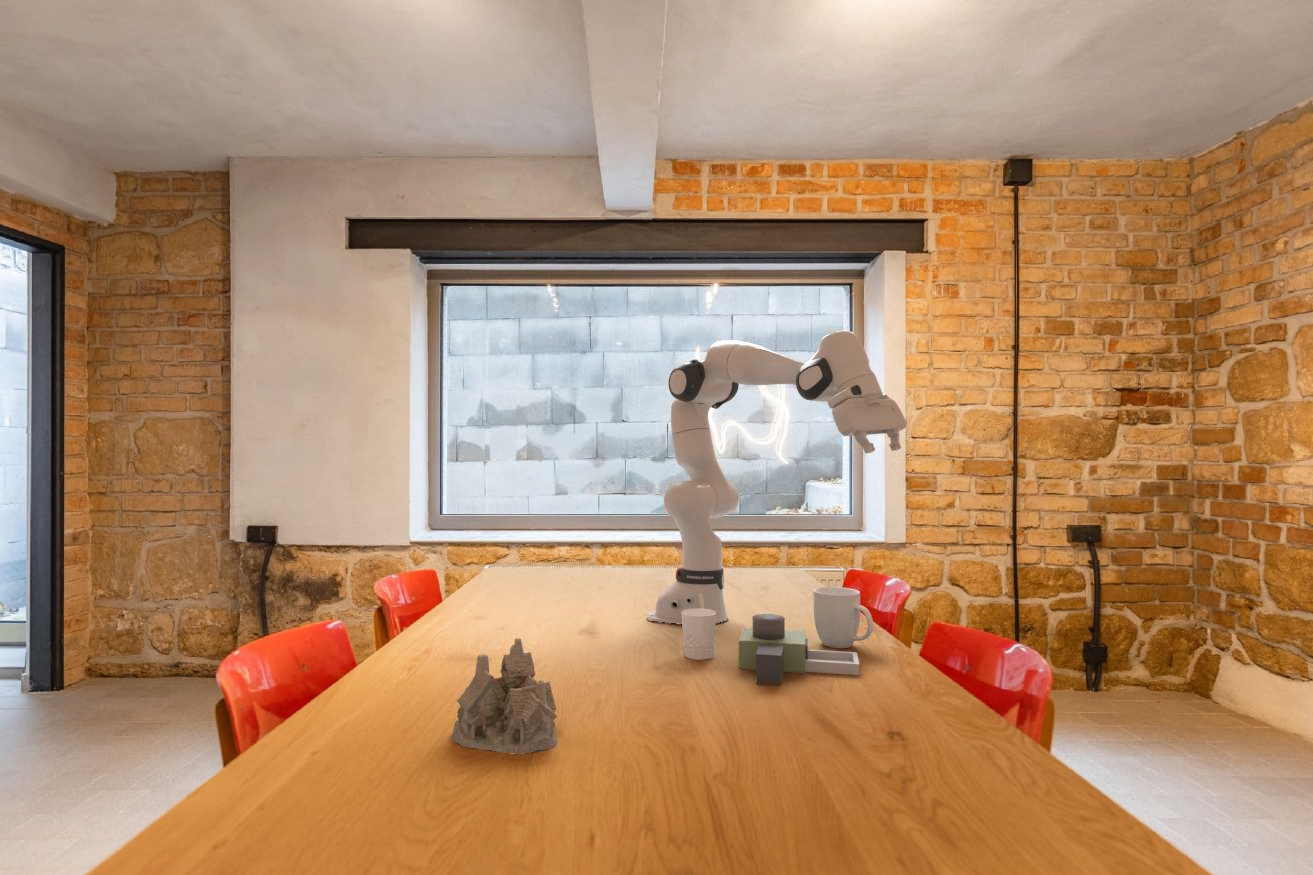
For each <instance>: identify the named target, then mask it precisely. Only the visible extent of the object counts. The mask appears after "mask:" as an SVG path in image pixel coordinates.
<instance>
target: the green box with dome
mask: <svg viewBox="0 0 1313 875" xmlns="http://www.w3.org/2000/svg"><path fill="white" fill-rule="evenodd" d="M785 625H786V624H785V617H784V616H783V615H781V614H780V615H779V614H774V613H759V614H755V615H752V628H751V627H750V628H746V627H745V628H744V627H743V629H742V631H741V633H740V634H741V635H740V637H739V639H738V669H740V670H741V669H742V670H754V671H756V653H757V650H758V647H759V644H773V645H783V673H784V672H785V673H786V672H787V673H797V674H798V673H800V674H806V673H819V674H820V673H821V674H834V675H836V674H837V675H848V676H849V675H850V676H860V660H859V656H858V652H856V651H842V650H840V651H837V650H825V649H824V650H823V649H822V650H821V649H808V645H809V644H808V642H809V640H808V638H807V632H806V631H803V630H802V631H801V630H786V628H785Z"/></svg>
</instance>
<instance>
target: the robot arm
mask: <svg viewBox="0 0 1313 875" xmlns="http://www.w3.org/2000/svg"><path fill="white" fill-rule="evenodd" d="M869 360H870V359H869V357H868V354H867V353H866V351H865V348H864V346H863V344H862V342H861V341H860V338H858V336H857V334H856V333H854V332H853V331H849V330H838V331H832V332H830V333H827V334H826V335H824V336H823V337H822V338H821V339H820V343H819V346H818V347H817V350H816V352H815V353H814V354H813V356H811V358H810V359H809V360H808V361H801V360H796V359H794V358H791V357H788V356H785V355H782V354H781V353H778V352H775V351H773V350H771V349H767V348H765V347H763V346H760V345H758V344H754V343H750V342H747V341H746V342H745V341H741V340H719V341H716V342H714V343H713V344H711V345H710V347H709V348H708V349H707V352H706V355H705V359H703V360H700V361H699V360H698V359H694V358H693V359H691V360H690V361H688V362H685V363H682V364H679V365H678V366H676V367H674V368H673V369H672V370H671V372H670V374H669V377H668V390H669V392H670V395H671V396H672V397H673V398H674V399H675V400H673V402H672V404H671V406H670V408H671V409H670V425H671V427H670V428H671V435H672V441H673V447H674V448H673V449H674V453H675V454H674V455H675V460H676V462H677V464H678V465H679V466H680V467H681V468H682V469H683V470H684V471H685V472H686V473H687V475H688V477H689V479H690V480H684V481H680V482H676V483H673V484H671V485H670V486H669V487H667V489H666V490H665V493H664V496H663V505H664V509H665V511H666V513H667V515H669V516H670V518H672V519H673V521H674V522H675V525H677V528H678V531H679V534H680V538H681V544H682V566H679V567H677V569H676V571H675V582H673V583H672V584H671V585H670V586H668V587H667V588H666V589H664V590H663V591H662V592H661V593H660V594H659V595H658V597H657V599H656V604H655V609H652V610H650V611H649V612H648V615H647V620H648V621H649V622H652V621H658V622H657V623H662V622H665V623H664V624H671V623H679V624H678V625H681V624H682V611H683V610H686V609H695V608H700V609H710V610H713V611H715V612H716V623H715V624H720V622H721V623H724V622H726V621H728V620H727V619H729V617H728V613H727V610H726V604H725V598H724V589H725V588H724V587H725V573H724V568H723V544H722V543H723V542H722V540H721V538H720V536H718V535H717V534H715V532H714V530H713V528H712V524H711V520H710V519H716V518H722V517H725V516H727V515H730V514H731V513H733V512H734V511H735V510H736V509H737V508H738V506H739V500H740V498H739V497H740V496H739V492H738V489H737V487H736V486H735V485H734V484H733V483H732V482H731V481H729V479H727V477H726V475H725V474H724V472H723V470H722V468H721V466H720V465H719V462H718V459H717V457H716V453H715V449H714V443H713V438H712V433H711V427H710V422H709V411H710V409H711V408H712V409H715V410H716V409H719V408H720V407H721V406H722V405H724V404H725V403H728V402H730V401H731V400H733V399H734V398H735V396H736V395H737V393H738V390H739V387H740V386H739V384H740V385H743V386H745V385H747V386H770V385H771V386H772V385H793V386H794V385H795V387H796V390H797V392H798V394H799V396H801V397H802V398H803V399H804V400H807V401H811V402H826V403H827V405H828V407H829V408H830V409H832V410H831V413H832V417H833V420H834V422H835V426H836V427H837V430H838V432H839V433H840V434H841V435H842V436H844V437H853V436H854V439H855V441H856V442H857V443H858V444H859V445H860V446H861V447H862V449H863V451H864V454H871V453H874V452H875V451H876V449H875V448H876V447H875V445H874V443H873V442H870V441H869V439H868V438H867V436H868V435H882V434H883V435H884V434H887V437H888V438H890V443H889V444H888V446H889V448H890V450H891V452H896V451H899V450H901V449H902V445H901V443H900V432H901V431H903V430H904V429H905V428H907V420H906V418H905V415H904V413H903V412H902V411H901V409H900V407H899V405H898V403H897V402H896V401H895V400H894V399H892V398H891V397H889V396H888V395H887V394H885V393H883V391H882V388H881V386H880V384H879V381H878V379H877V376H876V375H875V373H874V371H873V370H872V368H871V366H870V361H869ZM723 621H724V622H723Z"/></svg>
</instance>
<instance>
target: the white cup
mask: <svg viewBox="0 0 1313 875" xmlns="http://www.w3.org/2000/svg"><path fill="white" fill-rule="evenodd" d="M716 624H717V623H716V612H715V611H713V610H710V609H700V608H695V609H686V610H683V611H682V625H681V627H682V628H681V631H682V633H681V634H682V644H683V656H684V658H687V659H688V660H698V661H699V660H700V661H703V660H705V661H706V660H709V659H712V658H713V657H714V655H715V652H714V651H715V641H716V640H715V636H716Z"/></svg>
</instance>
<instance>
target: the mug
mask: <svg viewBox="0 0 1313 875" xmlns="http://www.w3.org/2000/svg"><path fill="white" fill-rule="evenodd" d="M861 612H862V613H863V615H864V616H865V618H866V621H867V622H866V623H867V628H866V632H865V634H863V635H861V636H858V632H859V629H860V628H859V627H860V623H861ZM813 620H814V625H815V629H816V632H817V636H818V638H819V640H820V642H821V643H822V644H823V645H824V646H825V647H827V646H828V648H833V649H847V648H850V647H852V646H853V644H854V642H855V641H856V642H857V641H859V642H860V641H864V640H867V639H869V638H870V636H871V635H872V633H873V630H874V621H873V617H872V614H871V612H870V611H869V609H868V608H867V607H865V606H864V605H861V591H859V590H858V589H853V588H848V587H841V586H822V587H817V588H814V589H813Z"/></svg>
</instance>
